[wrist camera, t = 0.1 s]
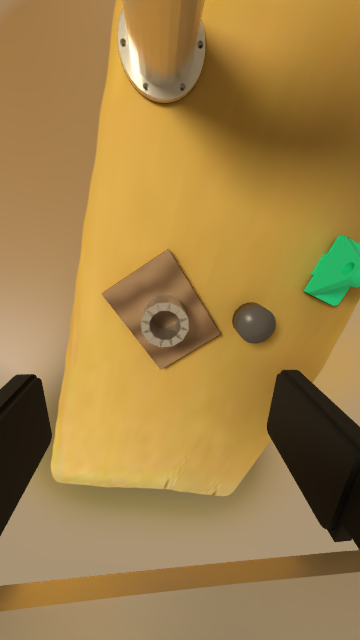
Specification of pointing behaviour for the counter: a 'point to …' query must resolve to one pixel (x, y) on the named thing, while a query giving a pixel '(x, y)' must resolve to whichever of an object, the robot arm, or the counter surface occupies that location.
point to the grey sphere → (253, 322)
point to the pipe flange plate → (162, 310)
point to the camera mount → (336, 271)
